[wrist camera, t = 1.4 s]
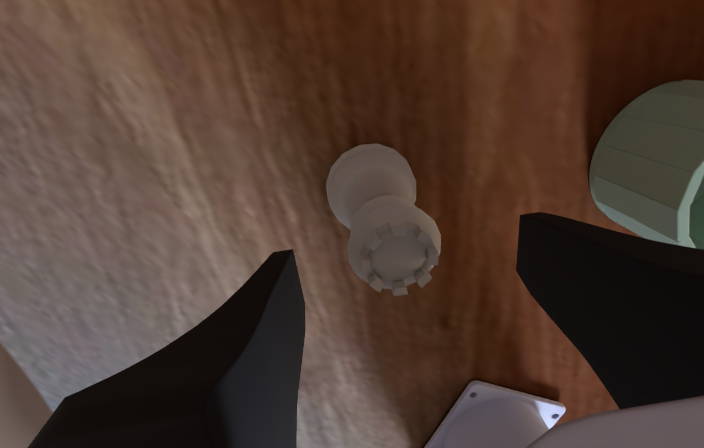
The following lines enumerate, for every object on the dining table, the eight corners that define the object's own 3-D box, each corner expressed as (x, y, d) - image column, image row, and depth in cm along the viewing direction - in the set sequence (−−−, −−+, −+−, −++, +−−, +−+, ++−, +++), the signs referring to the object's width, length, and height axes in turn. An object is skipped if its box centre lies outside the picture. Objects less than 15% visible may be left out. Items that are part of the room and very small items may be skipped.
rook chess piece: (307, 178, 19) (300, 255, 11) (378, 122, 18) (419, 166, 11) (360, 239, 20) (384, 340, 13) (428, 190, 19) (493, 269, 12)
